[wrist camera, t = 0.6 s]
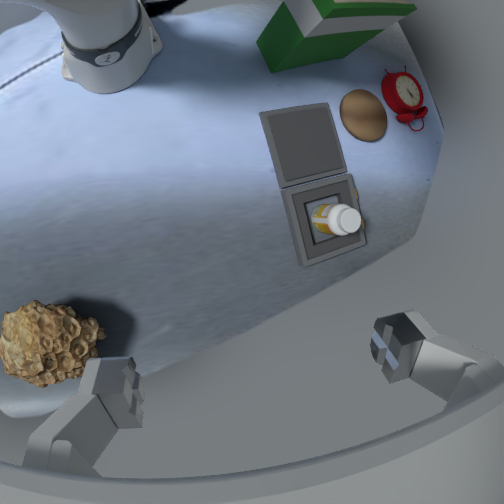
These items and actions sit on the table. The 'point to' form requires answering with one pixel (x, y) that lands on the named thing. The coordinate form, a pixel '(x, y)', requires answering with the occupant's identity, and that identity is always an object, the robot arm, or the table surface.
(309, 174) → the equipment case
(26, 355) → the fossil
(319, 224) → the supplement bottle
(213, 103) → the table surface
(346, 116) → the round brown pad
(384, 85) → the alarm clock
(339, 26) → the hardback book
